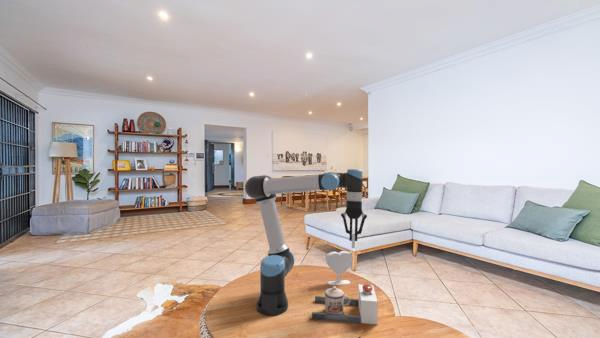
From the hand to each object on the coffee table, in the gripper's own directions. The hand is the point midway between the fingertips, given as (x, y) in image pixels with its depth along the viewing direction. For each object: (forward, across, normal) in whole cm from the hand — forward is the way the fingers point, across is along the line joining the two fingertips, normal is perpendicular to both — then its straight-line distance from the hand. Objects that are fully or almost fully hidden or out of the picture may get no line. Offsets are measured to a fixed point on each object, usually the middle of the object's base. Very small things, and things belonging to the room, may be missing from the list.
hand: (353, 247), depth 133 cm
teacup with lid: (+29, -7, -9) cm, 31 cm away
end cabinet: (+28, +7, -8) cm, 30 cm away
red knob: (+22, +7, -8) cm, 25 cm away
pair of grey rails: (+28, -7, -9) cm, 30 cm away
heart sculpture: (+29, -7, +23) cm, 38 cm away
